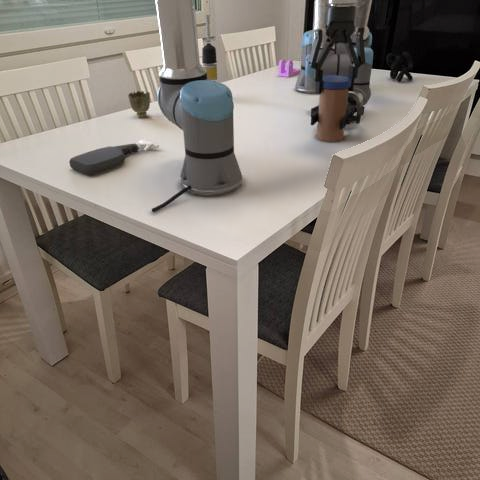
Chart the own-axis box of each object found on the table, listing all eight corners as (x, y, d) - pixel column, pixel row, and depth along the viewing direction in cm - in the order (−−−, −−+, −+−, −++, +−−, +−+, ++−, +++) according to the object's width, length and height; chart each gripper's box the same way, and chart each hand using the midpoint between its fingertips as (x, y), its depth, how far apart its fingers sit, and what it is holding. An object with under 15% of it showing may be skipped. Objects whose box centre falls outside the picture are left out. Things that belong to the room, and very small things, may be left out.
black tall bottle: (220, 99, 177) (217, 15, 161) (206, 100, 176) (202, 16, 160) (215, 96, 182) (212, 14, 166) (202, 97, 180) (197, 14, 164)
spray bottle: (67, 168, 120) (139, 144, 136) (91, 178, 114) (163, 151, 130) (65, 157, 118) (137, 134, 134) (89, 167, 112) (162, 142, 128)
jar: (347, 136, 138) (353, 79, 129) (336, 143, 133) (342, 85, 124) (323, 131, 142) (327, 76, 133) (312, 139, 137) (316, 82, 128)
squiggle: (400, 92, 202) (376, 71, 205) (417, 76, 202) (392, 56, 205) (405, 81, 191) (380, 59, 194) (423, 64, 191) (397, 42, 194)
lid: (328, 80, 135) (328, 74, 134) (356, 84, 130) (356, 77, 129) (312, 86, 129) (313, 79, 128) (341, 90, 124) (342, 83, 123)
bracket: (288, 77, 209) (289, 61, 205) (278, 75, 212) (278, 60, 208) (302, 72, 218) (303, 57, 214) (292, 70, 221) (293, 55, 217)
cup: (126, 117, 158) (123, 94, 154) (140, 112, 164) (137, 89, 160) (143, 120, 155) (140, 96, 151) (156, 114, 161) (153, 91, 157)
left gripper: (308, 7, 113) (303, 97, 125) (386, 4, 117) (374, 91, 129) (298, 5, 119) (294, 91, 131) (372, 2, 124) (362, 86, 135)
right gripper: (379, 118, 145) (360, 140, 129) (317, 111, 154) (292, 130, 137) (382, 95, 141) (363, 114, 125) (319, 88, 150) (293, 105, 133)
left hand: (334, 91), depth 130 cm, fingers open, 9 cm apart
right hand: (326, 122), depth 131 cm, fingers closed on jar, 8 cm apart
